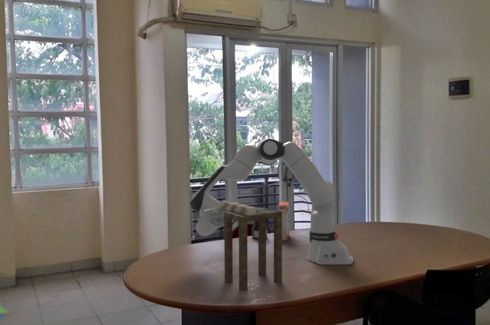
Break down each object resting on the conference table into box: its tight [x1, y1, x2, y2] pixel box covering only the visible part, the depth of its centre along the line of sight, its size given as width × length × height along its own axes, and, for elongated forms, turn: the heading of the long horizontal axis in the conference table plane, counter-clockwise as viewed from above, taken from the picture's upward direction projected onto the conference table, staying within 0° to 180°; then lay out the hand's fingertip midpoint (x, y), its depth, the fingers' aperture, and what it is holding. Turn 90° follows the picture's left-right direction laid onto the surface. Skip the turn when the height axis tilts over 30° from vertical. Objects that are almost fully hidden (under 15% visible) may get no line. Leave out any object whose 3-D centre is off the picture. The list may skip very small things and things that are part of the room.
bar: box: [220, 199, 257, 216], centre depth 194 cm, size 22×4×3 cm, turn 33°
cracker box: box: [277, 201, 291, 242], centre depth 271 cm, size 14×6×21 cm, turn 168°
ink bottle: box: [251, 220, 268, 240], centre depth 272 cm, size 10×9×12 cm
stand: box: [223, 206, 283, 292], centre depth 194 cm, size 14×20×30 cm
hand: (228, 207), depth 201 cm, fingers open, 8 cm apart
